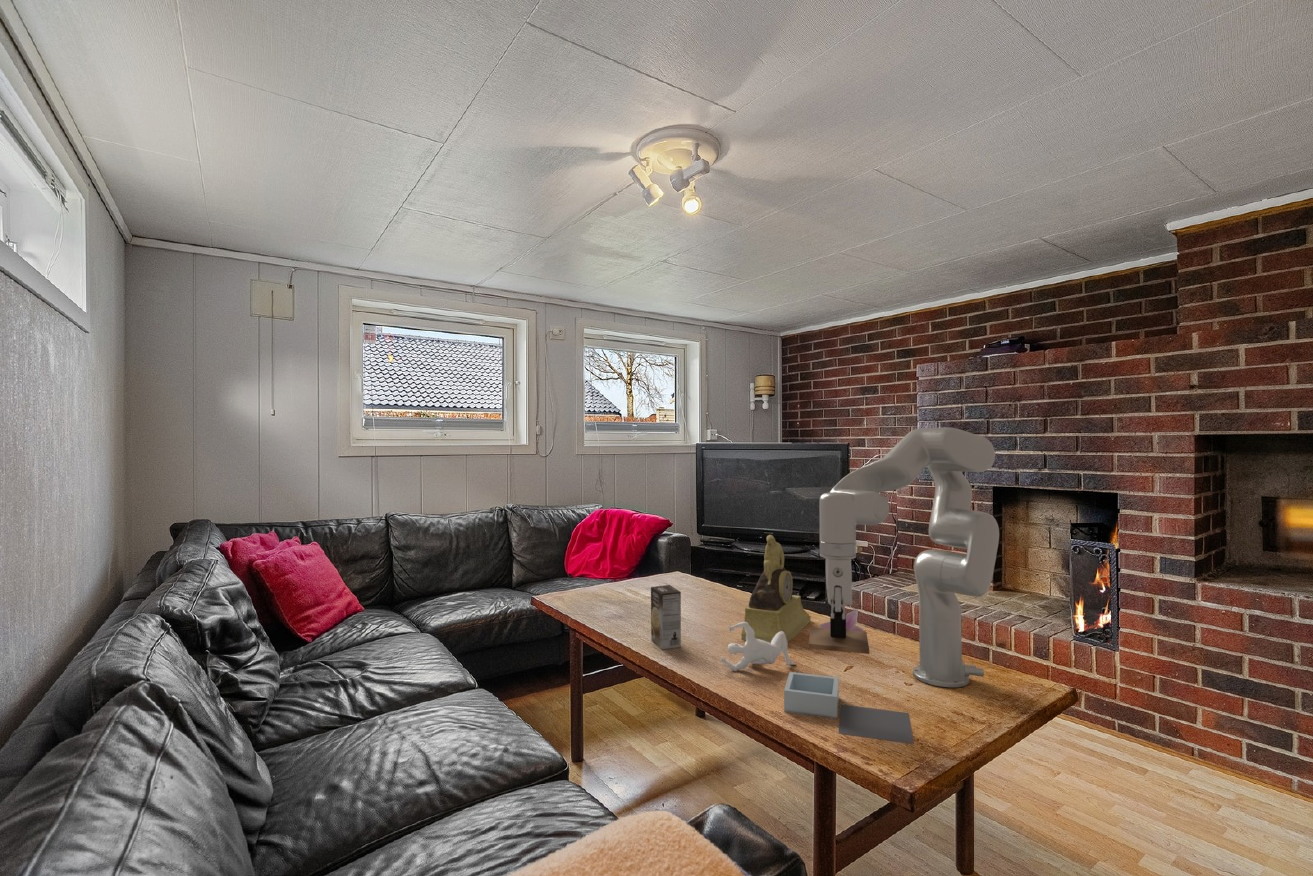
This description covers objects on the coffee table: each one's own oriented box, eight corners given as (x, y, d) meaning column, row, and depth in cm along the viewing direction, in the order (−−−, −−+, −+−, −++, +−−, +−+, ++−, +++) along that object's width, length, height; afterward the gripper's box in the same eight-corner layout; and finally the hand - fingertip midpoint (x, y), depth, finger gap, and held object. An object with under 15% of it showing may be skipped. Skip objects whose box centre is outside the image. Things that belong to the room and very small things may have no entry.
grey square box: (838, 699, 137) (838, 677, 137) (837, 720, 127) (836, 697, 127) (789, 693, 141) (789, 672, 141) (784, 713, 131) (784, 690, 131)
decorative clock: (783, 647, 173) (782, 543, 173) (741, 640, 179) (740, 539, 180) (810, 621, 197) (809, 530, 198) (772, 616, 204) (772, 527, 204)
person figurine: (765, 615, 167) (729, 618, 154) (805, 635, 159) (771, 639, 145) (752, 660, 167) (715, 667, 154) (792, 682, 159) (756, 691, 146)
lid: (866, 636, 134) (866, 609, 134) (869, 654, 122) (869, 624, 123) (810, 631, 137) (810, 605, 137) (808, 648, 126) (808, 619, 126)
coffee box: (650, 640, 180) (649, 586, 180) (669, 637, 182) (669, 584, 182) (661, 650, 171) (661, 593, 171) (682, 647, 173) (681, 591, 174)
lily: (814, 644, 178) (813, 620, 174) (840, 622, 184) (839, 599, 179) (848, 667, 169) (848, 643, 165) (874, 644, 175) (874, 620, 170)
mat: (908, 714, 129) (908, 713, 129) (914, 746, 116) (914, 744, 116) (840, 706, 134) (840, 704, 134) (838, 735, 121) (838, 733, 121)
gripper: (857, 557, 121) (857, 649, 121) (854, 544, 137) (855, 625, 137) (818, 555, 123) (819, 645, 123) (820, 543, 139) (821, 622, 139)
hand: (838, 634), depth 130 cm, fingers closed on lid, 3 cm apart
